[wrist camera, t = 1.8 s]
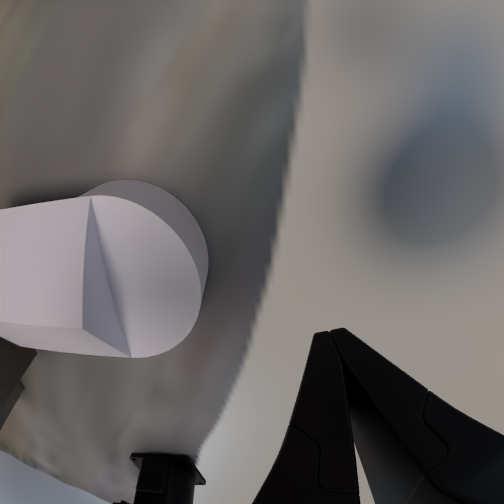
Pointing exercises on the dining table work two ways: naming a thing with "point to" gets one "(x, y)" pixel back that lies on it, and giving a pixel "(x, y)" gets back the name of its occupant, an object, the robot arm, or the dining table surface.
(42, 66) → the dining table surface
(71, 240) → the wedge on round base
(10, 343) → the gauge plunger
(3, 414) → the gauge housing
